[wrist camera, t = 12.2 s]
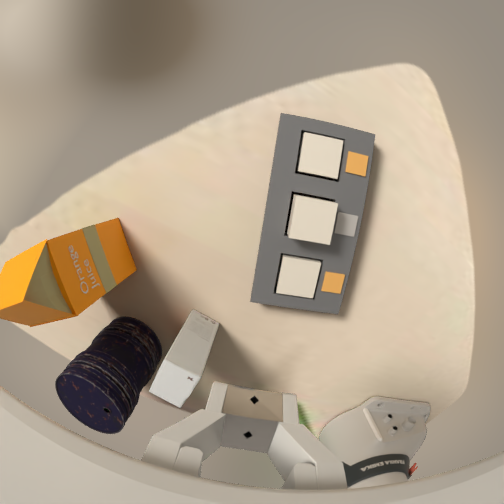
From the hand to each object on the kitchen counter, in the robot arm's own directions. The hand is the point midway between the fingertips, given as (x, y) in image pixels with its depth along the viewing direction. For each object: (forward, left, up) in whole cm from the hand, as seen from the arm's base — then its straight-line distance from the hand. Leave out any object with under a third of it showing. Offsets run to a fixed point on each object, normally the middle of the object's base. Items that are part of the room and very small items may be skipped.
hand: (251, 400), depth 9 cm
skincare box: (+7, +14, -26) cm, 30 cm away
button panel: (-5, -4, -26) cm, 27 cm away
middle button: (-5, -4, -24) cm, 25 cm away
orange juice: (+22, +5, -26) cm, 34 cm away
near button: (-5, -11, -26) cm, 29 cm away
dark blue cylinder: (+17, +19, -26) cm, 36 cm away
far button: (-5, +3, -26) cm, 26 cm away
